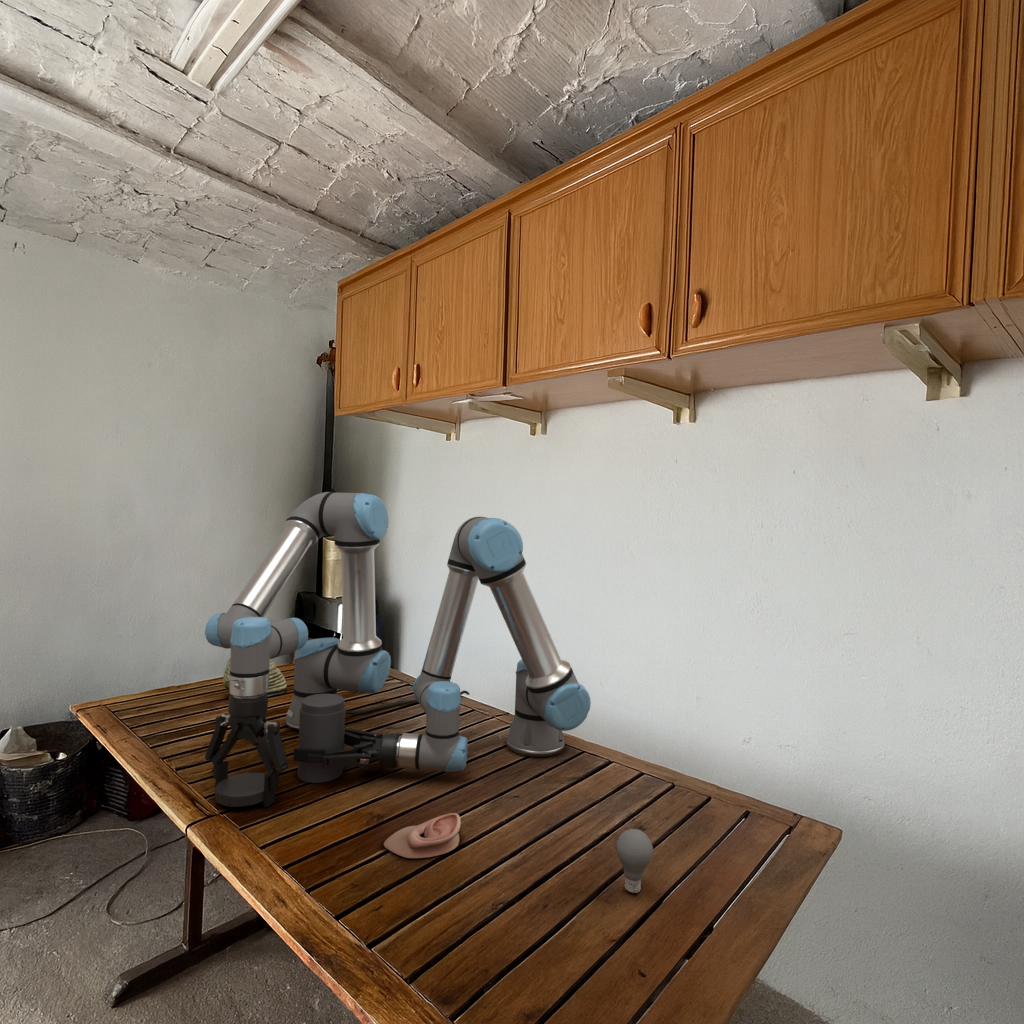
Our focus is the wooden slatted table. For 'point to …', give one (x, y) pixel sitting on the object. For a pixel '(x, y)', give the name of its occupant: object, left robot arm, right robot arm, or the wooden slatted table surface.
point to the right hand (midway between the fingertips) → (302, 745)
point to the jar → (321, 733)
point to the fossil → (275, 679)
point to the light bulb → (634, 857)
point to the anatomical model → (426, 838)
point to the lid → (241, 790)
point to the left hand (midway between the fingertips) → (244, 799)
